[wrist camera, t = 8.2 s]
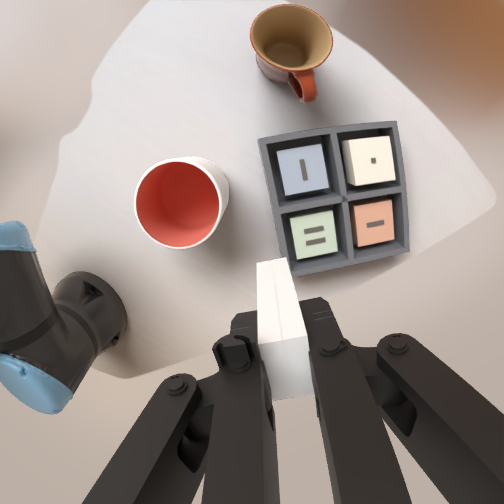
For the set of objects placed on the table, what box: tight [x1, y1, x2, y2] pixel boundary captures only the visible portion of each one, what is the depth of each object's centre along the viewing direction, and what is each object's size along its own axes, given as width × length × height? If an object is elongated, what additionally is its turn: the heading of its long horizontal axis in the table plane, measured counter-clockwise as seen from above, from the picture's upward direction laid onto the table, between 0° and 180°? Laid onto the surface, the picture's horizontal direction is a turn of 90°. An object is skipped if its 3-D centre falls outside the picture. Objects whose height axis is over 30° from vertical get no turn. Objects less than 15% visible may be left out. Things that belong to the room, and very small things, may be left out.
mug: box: [250, 4, 333, 104], centre depth 29 cm, size 12×9×10 cm
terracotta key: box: [348, 196, 394, 247], centre depth 38 cm, size 6×6×4 cm
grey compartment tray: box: [258, 121, 409, 277], centre depth 37 cm, size 18×18×5 cm
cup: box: [134, 157, 229, 249], centre depth 35 cm, size 10×10×10 cm
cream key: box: [341, 136, 396, 186], centre depth 33 cm, size 6×6×4 cm
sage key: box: [287, 206, 338, 259], centre depth 39 cm, size 6×6×4 cm
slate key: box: [275, 144, 329, 196], centre depth 36 cm, size 6×6×4 cm
